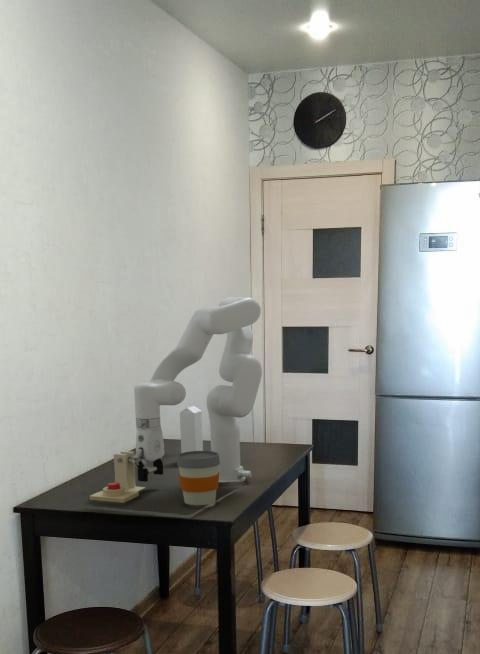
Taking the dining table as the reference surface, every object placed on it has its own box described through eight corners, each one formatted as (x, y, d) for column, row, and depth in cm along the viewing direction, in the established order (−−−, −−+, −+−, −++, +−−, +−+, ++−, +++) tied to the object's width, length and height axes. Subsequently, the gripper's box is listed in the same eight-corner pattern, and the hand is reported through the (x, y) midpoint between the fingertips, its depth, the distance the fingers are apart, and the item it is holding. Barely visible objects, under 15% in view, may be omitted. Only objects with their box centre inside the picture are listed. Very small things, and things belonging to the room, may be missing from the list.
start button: (122, 488, 259) (121, 482, 259) (115, 491, 256) (115, 485, 255) (112, 487, 260) (111, 481, 260) (105, 490, 257) (105, 484, 257)
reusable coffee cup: (226, 507, 247) (224, 457, 245) (184, 511, 244) (181, 460, 241) (215, 497, 259) (213, 449, 257) (174, 501, 256) (172, 452, 253)
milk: (203, 461, 312) (201, 402, 308) (196, 464, 307) (194, 404, 303) (188, 460, 315) (186, 401, 311) (181, 463, 309) (179, 403, 305)
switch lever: (156, 473, 266) (157, 466, 265) (148, 476, 261) (150, 469, 260) (123, 458, 269) (125, 451, 269) (115, 462, 265) (117, 455, 264)
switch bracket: (146, 490, 270) (144, 451, 268) (133, 496, 263) (131, 456, 260) (119, 488, 274) (116, 449, 272) (105, 494, 267) (103, 454, 264)
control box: (139, 498, 260) (138, 486, 260) (123, 506, 252) (123, 492, 251) (105, 495, 265) (105, 483, 264) (89, 502, 257) (88, 490, 256)
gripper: (144, 428, 251) (147, 484, 255) (172, 419, 267) (174, 472, 270) (122, 427, 254) (125, 483, 257) (151, 418, 270) (153, 471, 273)
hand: (150, 477), depth 264 cm, fingers open, 9 cm apart
